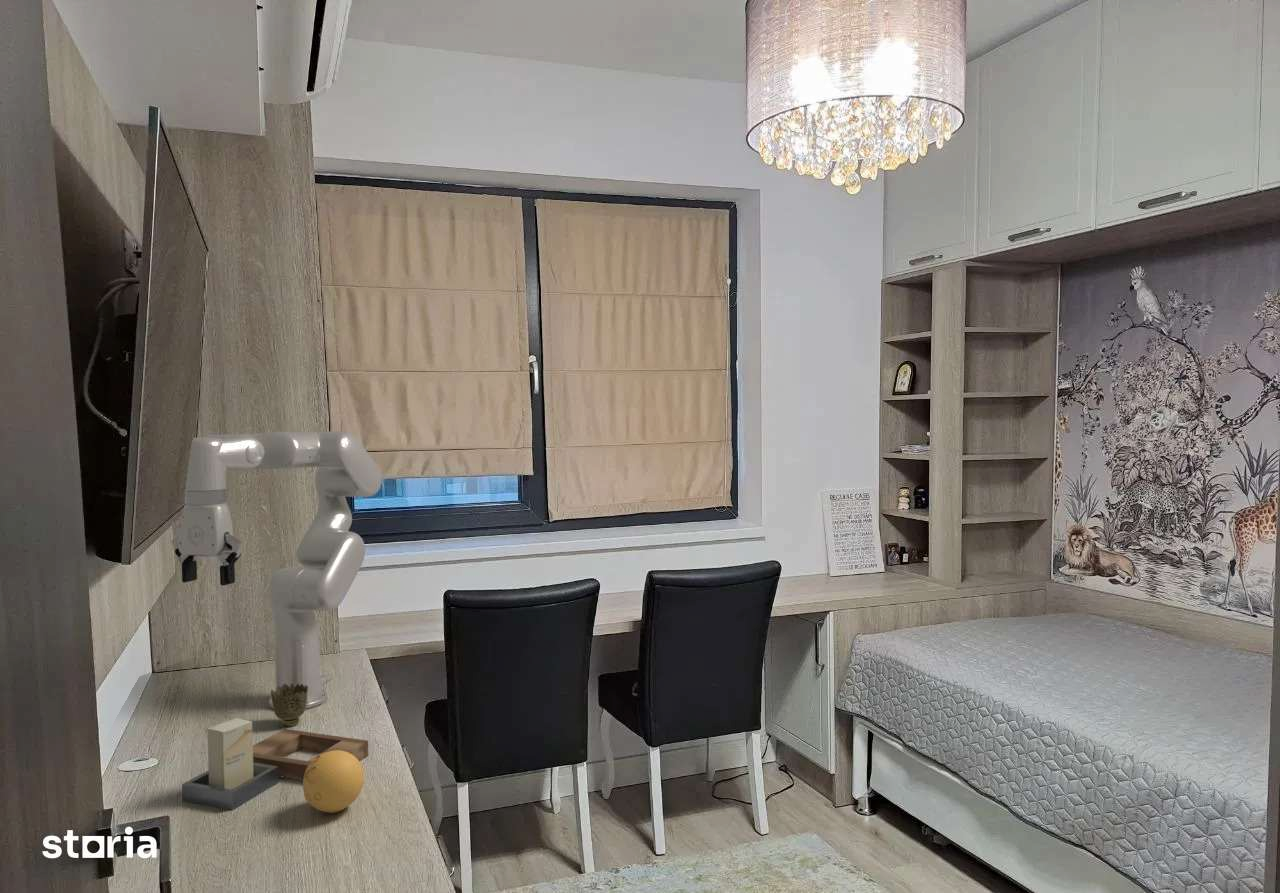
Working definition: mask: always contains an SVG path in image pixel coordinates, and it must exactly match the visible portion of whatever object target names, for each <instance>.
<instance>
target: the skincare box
mask: <svg viewBox="0 0 1280 893" xmlns="http://www.w3.org/2000/svg"><path fill="white" fill-rule="evenodd" d="M253 741H254V739H253V721H251V720H248V719H245V718H240V717H235V718H231V719H230V720H227V721H224V722H221V723H219V724H217V725H213V726H211V727H207V756H208V758H207V764H208V766H207V767H208V770H209V786H214V787H219V788H225V789H231V790H232V789H234V788H236V787H238V786H239V785H241V784H243V783H245V782H246V781H248V780H250V779H252V778H253V745H254V742H253Z"/></svg>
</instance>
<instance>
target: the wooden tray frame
mask: <svg viewBox="0 0 1280 893" xmlns="http://www.w3.org/2000/svg"><path fill="white" fill-rule="evenodd" d="M299 749H300V750H303V749H306V751H310V750H311V751H312V752H317V753H319V754H317V755H315V756H313V757H311V758H310V759H309V760H301V759H295V758H290V757H289V756H291V755H292V753H293V754H294V753H297V752H298V751H300V750H299ZM334 750H340V751H345V752H348V753H350V754H352V755H353V756H355V757H356V758H357V759H358V761H359V762H361V761H363V760H364V759H366V758H367V757H368V756H369V740H366V739H360V738H354V737H345V736H338V735H332V734H331V735H330V734H324V733H318V732H317V733H316V732H311V731H310V732H309V731H303V730H296V729H295V730H294V729H289V728H284V729H282V730H280V731H278V732H276V733H274V734H272V735H270V736H268V737H267V738H265V739H263V740H261V741H259V742H257V743H255V744H253V763H260V764H266V765H272V766H278V773H279V776H283V777H282V778H285V777H288V778H287V779H291V778H295V779H294V780H297V779H301V780H300V781H303V779H304V775H305V770H306V768H307V767H308V765H310V764H311V763H312V762H313V761H314V759H315V758H316V757H317V756H319V755H321V754H323V753H325V752H329V751H334ZM311 751H310V752H311ZM290 754H291V755H290ZM288 755H289V756H288ZM286 756H287V757H286ZM284 757H286V758H284Z"/></svg>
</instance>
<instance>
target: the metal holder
mask: <svg viewBox="0 0 1280 893" xmlns="http://www.w3.org/2000/svg"><path fill="white" fill-rule="evenodd" d="M279 778H280V777H279V773H278V766H272V765H266V764H260V763H253V778H252V779H250V780H248V781H246V782H245V783H243V784H241V785H239V786H238V787H236V788H234V789H232V790H231V789H225V788H219V787H214V786H209V769H208V770H207V771H204V772H203V773H201V774H198V775H196V776H195V777H193V778H191V779H189V780H187V781H186V782H185V781H184V783H182V784H181V793H182V794H181V796H182V800H181V801H182V802H186V803H192V804H197V805H203V806H208V807H214V808H220V809H223V810H224V809H225V810H231V811H234V810H235V809H237V808H239V807H240V806H243V805H244V804H245V803H247V802H249V801H251V800H252V799H254V798H256V797H257V796H259V795H260V794H262V793H264V792H266V791H267V790H268V788H269V789H270V788H272V787H274V786H275V785H277V784H278V782H280V780H279ZM276 783H277V784H276ZM274 784H275V785H274ZM273 785H274V786H273ZM266 789H267V790H266ZM258 794H259V795H258Z"/></svg>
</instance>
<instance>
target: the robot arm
mask: <svg viewBox="0 0 1280 893" xmlns="http://www.w3.org/2000/svg"><path fill="white" fill-rule="evenodd" d="M192 438H193V440H192V444H191V450H190V459H189V466H188V473H187V481H186V490H184V491H185V492H184V493H185V498H184V505H183V506H184V510H183V513H182V515H181V516H180V515H179V520H178V521H179V522H178V536H176V537H175V538H173V539H172V540H171V544H172V547H173V549H174V554H175V555H176V556H177V557H178V562H179V563H180V564H181V582H182V583H189V582H193V581H196V580H197V579H198V566H197V564H198V562H197V560H195V558H196V556H197V557H207V558H208V557H210V558H211V557H217V559H218V560H219V561H220V563H221V565H220V566H219V584H220V585H221V586H229V585H231V584H234V583H235V582H236V574H235V564H237V563H238V560H239V559H240V558H241V555H242V551H243V549H244V546H245V545H244V542H242V541H241V540H239V539H237V537H236V536H234V530H233V529H234V528H233V522H232V520H233V519H232V517H231V516H232V515H231V511H230V507H229V504H228V502H227V500H228V498H227V496H228V495H227V474H226V473H227V471H231V472H247V471H251V470H253V469H259V470H261V469H262V470H292V469H305V468H318V469H317V470H316V472H315V476H314V485H315V491H316V495H317V500H318V501H317V502H318V509H317V512H316V514H315V517H314V518H313V520H312V521H311V524H310V525H309V526H308V528H307V530H306V532H305V533H304V535H303V537H302V538H301V541H300V542H299V543H298V546H297V548H296V553H295V557H296V560H297V562H298V563H299V564H300V565H301V566H286V567H283V568H281V569H278V570H276V571H275V572H274V573H273V575H272V576H271V577H270V580H269V582H268V586H267V587H268V588H267V592H268V598H269V602H270V606H271V610H272V618H273V628H274V630H273V631H274V661H275V662H274V665H275V667H274V668H275V669H274V670H275V688H276V687H277V686H280V687H281V686H282V685H284V684H287V685H288V686H289V687H290V685H291V684H292V683H293V684H294V687H295V686H296V684H298V683H299V684H300V685H301V684H303V686H304V687H305V685H307V686H308V693H307V703H306V708H305V710H306V709H310V708H314V707H316V706H319V705H321V704H322V703H325V701H326V700H327V699H328V691H326V690H324V689H323V687H324V685H326V684H328V683H329V682H331V681H332V680H333V676H332V674H330V673H327V674H325V675H322V676H320V675H321V674H320V673H321V670H320V669H321V668H320V644H319V643H320V632H319V631H320V628H319V622H318V618H317V615H316V614H315V611H316V612H317V611H318V612H330V611H333V610H336V608H338V607H339V606H340V604H342V602H343V601H344V599H345V597H346V595H347V594H348V592H349V590H350V588H351V586H352V584H353V582H354V581H355V580H356V577H357V575H358V573H359V571H360V569H361V567H362V564H363V562H364V558H365V552H366V547H365V542H364V539H363V538H362V536H360V535H359V534H358V533H356V532H355V531H354V532H353V531H349V530H350V528H351V525H352V522H353V515H352V512H351V509H350V506H349V504H348V502H347V499H346V497H347V498H348V497H349V498H351V497H352V498H369V497H372V496H373V497H374V495H376V494H377V493H378V492H379V490H380V489H381V486H382V480H383V479H382V474H381V471H380V468H379V466H378V465H377V464H376V462H375V461H374V460H373V458H372V457H371V455H370V454H369V452H368V451H367V449H366V448H365V447H364V446H363V445H362V443H361V442H360V441H359V440H358V439H357V438H356V437H355V436H354V435H353V434H351V433H350V432H347V431H321V430H319V431H316V430H315V431H313V430H311V431H272V432H271V431H270V432H260V433H259V432H257V433H243V434H242V433H240V434H207V435H204V436H201V437H192ZM268 706H269V707H270V708H271V709H273V703H272V696H271V697H270V698H269V700H268Z"/></svg>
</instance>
